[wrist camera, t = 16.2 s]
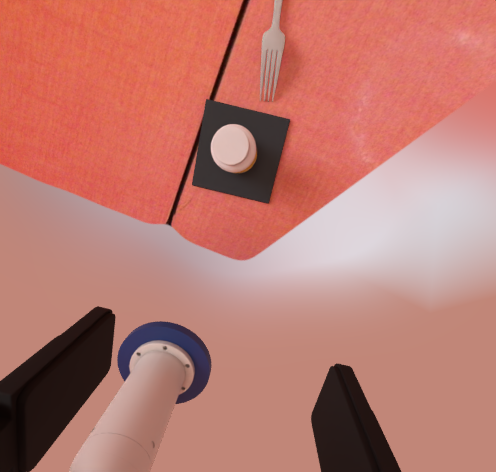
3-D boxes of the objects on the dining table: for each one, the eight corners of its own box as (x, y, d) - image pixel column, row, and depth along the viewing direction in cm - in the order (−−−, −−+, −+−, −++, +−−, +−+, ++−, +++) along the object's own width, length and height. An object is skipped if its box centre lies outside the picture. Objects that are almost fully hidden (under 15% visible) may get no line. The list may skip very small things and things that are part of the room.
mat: (268, 203, 36) (268, 203, 36) (192, 184, 36) (191, 185, 36) (289, 120, 33) (290, 119, 33) (206, 100, 33) (206, 99, 33)
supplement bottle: (265, 155, 34) (266, 148, 25) (237, 180, 35) (228, 183, 26) (240, 125, 33) (231, 106, 24) (212, 152, 34) (194, 143, 25)
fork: (299, -74, 30) (303, -103, 27) (276, 102, 33) (278, 93, 30) (277, -77, 30) (279, -105, 27) (256, 100, 33) (256, 90, 30)
